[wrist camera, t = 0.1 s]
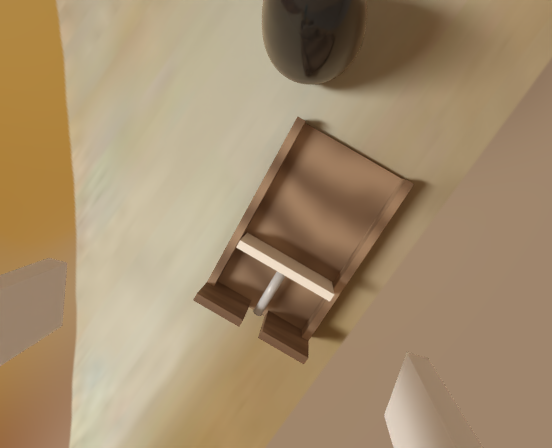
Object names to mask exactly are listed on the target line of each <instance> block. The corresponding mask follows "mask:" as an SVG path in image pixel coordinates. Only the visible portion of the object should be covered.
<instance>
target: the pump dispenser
mask: <svg viewBox="0 0 552 448" xmlns="http://www.w3.org/2000/svg"><path fill="white" fill-rule="evenodd" d="M366 21H367V0H263V6H262V34H263V41H264V45H265V48H266V51H267V54H268V56H269V58H270V60H271V62H272V64H273V65H274V66H275V68H276V69H277V70H278V71H279V72H280V73H281V74H282V75H284V76H285V77H287V78H288V79H290V80H292V81H294V82H297V83H301V84H320V83H324V82H327V81H330V80H332V79H334V78H336V77H337V76H339V75H340V74H341V73H343V72H344V71H345V70H346V69H347V68H348V67H349V66H350V65H351V63H352V62H353V61H354V59H355V57H356V56H357V54H358V52H359V50H360V47H361V45H362V42H363V39H364V35H365V30H366Z"/></svg>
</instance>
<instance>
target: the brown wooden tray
mask: <svg viewBox="0 0 552 448" xmlns="http://www.w3.org/2000/svg"><path fill="white" fill-rule="evenodd" d="M413 185H414V184H413V183H411V182H410V181H408V180H406V179H401V178H399V177H398V176H396V175H394V174H393V173H391V172H389V171H387V170H386V169H384V168H382V167H380V166H379V165H377V164H375V163H374V162H372V161H370V160H368V159H367V158H365V157H363V156H361V155H360V154H358V153H356V152H355V151H353V150H351V149H349V148H348V147H346V146H344V145H342V144H341V143H339V142H337V141H336V140H334V139H332V138H330V137H329V136H327V135H325V134H324V133H322V132H320V131H318V130H317V129H315V128H313V127H311V126H310V125H308V124H306V121H304V120H303V119H301V118H299V117H297V119H296V121H295V122H294V124H293V126H292V128H291V130H290V132H289V133H288V135H287V137H286V139H285V141H284V143H283V144H282V146H281V148H280V150H279V152H278V154H277V155H276V157H275V159H274V161H273V163H272V164H271V166H270V168H269V170H268V172H267V174H266V175H265V177H264V179H263V181H262V183H261V185H260V186H259V188H258V190H257V192H256V194H255V196H254V197H253V199H252V201H251V203H250V205H249V206H248V208H247V210H246V212H245V214H244V216H243V217H242V219H241V221H240V223H239V225H238V227H237V228H236V230H235V232H234V234H233V236H232V238H231V239H230V241H229V243H228V245H227V247H226V248H225V250H224V252H223V254H222V256H221V258H220V259H219V261H218V263H217V265H216V267H215V269H214V270H213V272H212V274H211V276H210V278H209V280H208V281H207V283H206V284H205V285H204V286H203V287H202V288H201V290H200V291H199V292H198V293H197V295H196V296H195V298H194V301H196V302H197V303H199V304H201V305H202V306H204V307H206V308H208V309H209V310H211V311H213V312H215V313H216V314H218V315H220V316H221V317H223V318H225V319H227V320H228V321H230V322H232V323H234V324H235V325H237V326H240V324H241V323H242V321H243V319H244V317H245V314H246V312H247V310H248V307H250V308H251V309H253V310H254V308H255V307H256V305H257V303H258V302H259V300H260V298H261V297H262V295H263V293H264V292H265V290H266V288H267V287H268V285H269V283H270V282H271V280H272V278H273V277H274V275H275V273H276V272H277V271H276V270H274V269H272V268H271V267H269V266H267V265H266V264H264V263H262V262H260V261H259V260H257V259H255V258H253V257H252V256H250V255H248V254H247V253H245V252H243V251H241V250H240V249H238V248H236V247H237V245H238V243H239V241H240V240H241V239H242V238H243V237H244V236H245V234H246V233H249V234H251V235H252V236H254V237H256V238H258V239H259V240H261V241H263V242H264V243H266V244H268V245H270V246H271V247H273V248H275V249H277V250H278V251H280V252H282V253H283V254H285V255H287V256H289V257H290V258H292V259H294V260H296V261H297V262H299V263H301V264H302V265H304V266H306V267H308V268H309V269H311V270H313V271H314V272H316V273H318V274H320V275H321V276H323V277H325V278H327V279H328V280H330V281H332V285H333V290H334V296H333V298H332V299H331V301H330V302H329V301H328V300H326V299H324V298H323V297H321V296H319V295H317V294H316V293H314V292H312V291H310V290H309V289H307V288H305V287H304V286H302V285H300V284H298V283H297V282H295V281H293V280H291V279H290V278H288V277H286V276H285V278H284V279H283V281H282V282H281V284H280V286H279V287H278V289H277V291H276V292H275V294H274V295H273V297H272V299H271V300H270V302H269V304H268V305H267V307H266V308H265V310H264V312H263V313H262V315H263V316H265V317H264V320H263V324H262V327H261V330H260V334H259V337H258V338H259V339H261V340H263V341H265V342H266V343H268V344H270V345H271V346H273V347H275V348H277V349H278V350H280V351H282V352H284V353H285V354H287V355H289V356H290V357H292V358H294V359H296V360H297V361H299V362H301V363H303V364H304V363H305V362H306V360H307V359H308V341H309V339H310V338H311V336H312V335H313V333H314V332H315V330H316V329H317V327H318V326H319V324H320V323H321V322H322V320H323V319H324V317H325V316H326V314H327V313H328V311H329V310H330V308H331V307H332V305H333V304H334V302H335V301H336V299H337V298H338V296H339V295H340V293H341V292H342V290H343V289H344V287H345V286H346V284H347V283H348V281H349V280H350V279H351V277H352V276H353V274H354V273H355V271H356V270H357V268H358V267H359V265H360V264H361V262H362V261H363V259H364V258H365V256H366V255H367V253H368V252H369V250H370V249H371V247H372V246H373V244H374V243H375V241H376V240H377V239H378V237H379V236H380V234H381V233H382V231H383V230H384V228H385V227H386V225H387V224H388V222H389V221H390V219H391V218H392V216H393V215H394V213H395V212H396V210H397V209H398V207H399V206H400V204H401V203H402V201H403V200H404V198H405V197H406V196H407V194H408V193H409V191H410V190H411V188H412V187H413Z"/></svg>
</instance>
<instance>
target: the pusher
mask: <svg viewBox="0 0 552 448" xmlns="http://www.w3.org/2000/svg"><path fill="white" fill-rule="evenodd" d="M236 248H238V249H240V250H241V251H243V252H245V253H247V254H248V255H250V256H252V257H253V258H255V259H257V260H259V261H260V262H262V263H264V264H266V265H267V266H269V267H271V268H272V269H274V270H276V271H277V272H276V273H275V275H274V277H273V278H272V280H271V282H270V283H269V285H268V287H267V288H266V290H265V292H264V293H263V295H262V297H261V298H260V300H259V302H258V303H257V305H256V307H255V308H254V310H253V312H254V313H255V314H256V315H258V316H261V315H262V313H263V312H264V310H265V308H266V307H267V305H268V304H269V302H270V300H271V299H272V297H273V295H274V294H275V292H276V291H277V289H278V287H279V286H280V284H281V282H282V281H283V279H284V278H285V276H286V277H288V278H290V279H291V280H293V281H295V282H297V283H298V284H300V285H302V286H304V287H305V288H307V289H309V290H310V291H312V292H314V293H316V294H317V295H319V296H321V297H323V298H324V299H326V300H328V301H329V302H330V301H331V299H332V298H333V296H334V290H333V285H332V281H330V280H328V279H327V278H325V277H323V276H321V275H320V274H318V273H316V272H314V271H313V270H311V269H309V268H308V267H306V266H304V265H302V264H301V263H299V262H297V261H296V260H294V259H292V258H290V257H289V256H287V255H285V254H283V253H282V252H280V251H278V250H277V249H275V248H273V247H271V246H270V245H268V244H266V243H264V242H263V241H261V240H259V239H258V238H256V237H254V236H252V235H251V234H249V233H246V234H245V236H244V237H243V238H242V239H241V240H240V241H239V243H238V245H237V247H236Z"/></svg>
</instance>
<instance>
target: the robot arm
mask: <svg viewBox="0 0 552 448" xmlns="http://www.w3.org/2000/svg"><path fill="white" fill-rule="evenodd" d="M66 272H67V263H66V262H63V261H59V260H55V259H51V258H47V259H45V260H42V261H39V262H36V263H33V264H30V265H28V266H25V267H22V268H19V269H16V270H14V271H11V272H8V273H5V274H2V275H0V366H1V365H3V364H4V363H6V362H7V361H9V360H10V359H12V358H13V357H15V356H17V355H18V354H20V353H21V352H23V351H24V350H26V349H27V348H29V347H30V346H32V345H34V344H35V343H37V342H38V341H40V340H41V339H43V338H44V337H46V336H47V335H49V334H50V333H52V332H53V331H55V330H57V329H58V328H60V327H61V326H62V322H63V309H64V297H65V285H66ZM384 416H385V420H386V423H387V426H388V430H389V433H390V436H391V440H392V443H393V447H394V448H483V446H482V445H481V443H480V442H479V440H478V438H477V437H476V435H475V433H474V432H473V430H472V428H471V427H470V425H469V424H468V422H467V420H466V419H465V417H464V415H463V414H462V412H461V411H460V409H459V407H458V406H457V404H456V402H455V401H454V399H453V397H452V396H451V394H450V393H449V391H448V389H447V388H446V387H445V384H444V383H443V381H442V380H441V378H440V376H439V375H438V373H437V371H436V370H435V368H434V366H433V365H432V364H431V362H430V360H429V358H426V357H423V356H419V355H415V354H411V353H408V352H407V354H406V356H405V359H404V362H403V365H402V368H401V370H400V373H399V376H398V379H397V381H396V384H395V387H394V390H393V392H392V395H391V398H390V401H389V404H388V406H387V409H386V412H385V415H384Z"/></svg>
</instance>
